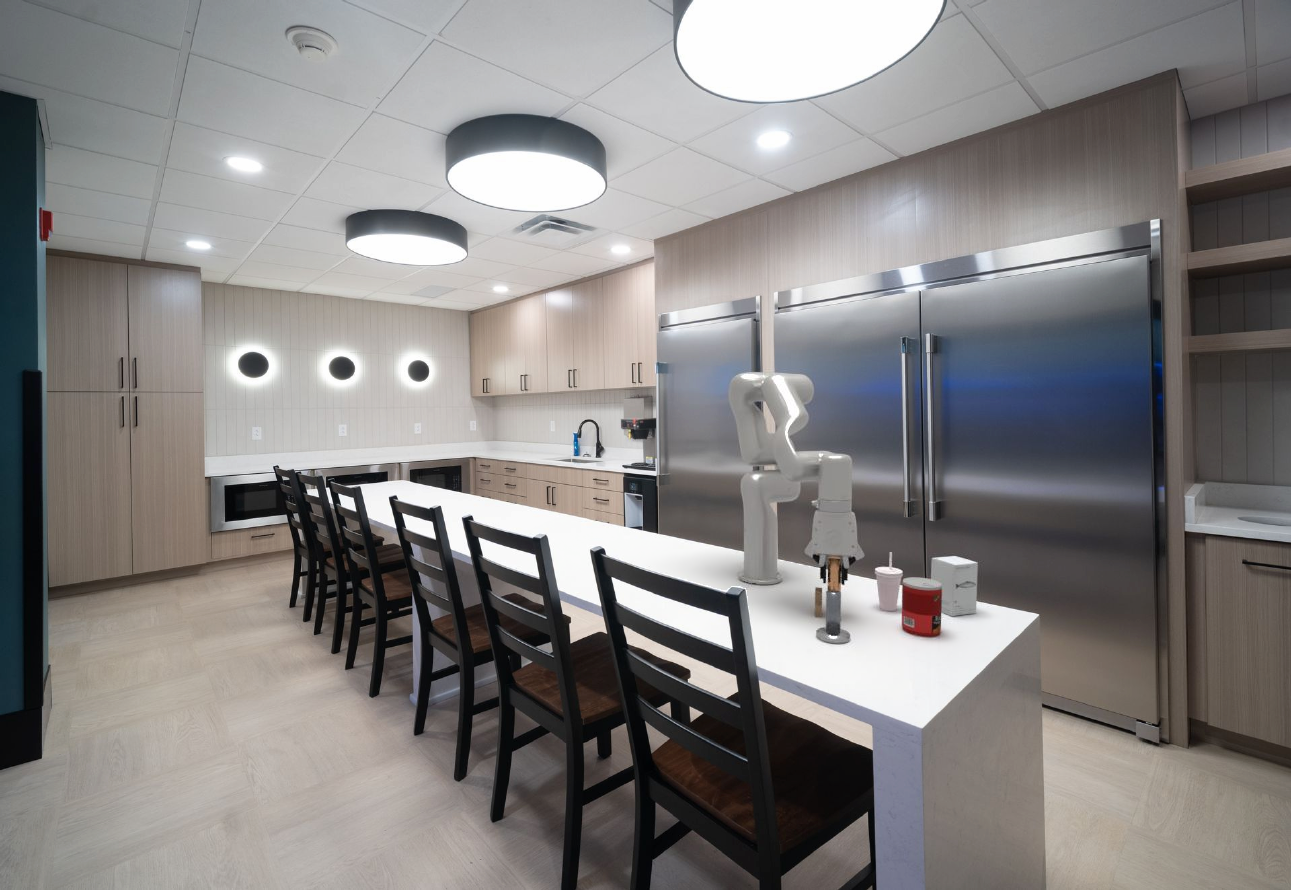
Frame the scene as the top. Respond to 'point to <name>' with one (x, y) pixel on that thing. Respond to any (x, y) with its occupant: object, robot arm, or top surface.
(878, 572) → the smoothie
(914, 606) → the canned food
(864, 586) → the top surface
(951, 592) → the supplement box
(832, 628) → the double handled crank lever
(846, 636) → the pivot base
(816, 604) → the brown wooden block
